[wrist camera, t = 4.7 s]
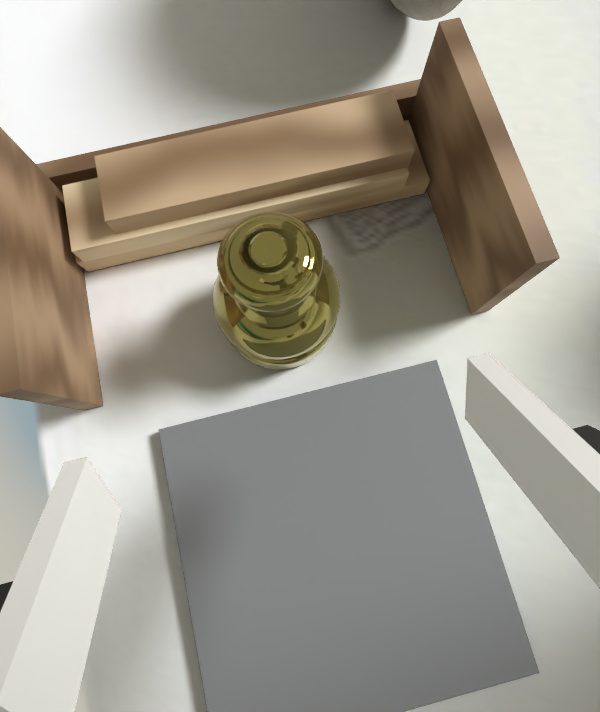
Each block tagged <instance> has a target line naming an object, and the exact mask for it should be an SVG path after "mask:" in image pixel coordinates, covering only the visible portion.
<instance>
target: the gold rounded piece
mask: <svg viewBox="0 0 600 712" xmlns="http://www.w3.org/2000/svg"><path fill="white" fill-rule="evenodd" d="M217 266H218V273H219V274H218V276H217V279H216V281H215V285H214V290H213V308H214V313H215V317H216V320H217V322H218V324H219V326H220V328H221V330H222V331H223V333H224V334H225V335H226V337H227V338H228V340H229V341H230V343H231V344H232V345H233V346H234V347H235V348H236V349H237V350H238V352H239V353H240V354H241V355H242V356H244V357H245V358H246V359H247V360H249V361H250V362H252V363H254V364H256V365H258V366H261V367H264V368H269V369H289V368H294V367H297V366H300V365H303V364H305V363H307V362H308V361H310V360H311V359H313V358H314V357H315V356H317V355H318V354H319V353H320V352H321V351H322V349H323V348H324V347H325V346H326V344H327V343H328V341H329V339H330V337H331V334H332V332H333V329H334V327H335V324H336V320H337V316H338V312H339V308H340V301H341V293H340V285H339V281H338V278H337V275H336V273H335V271H334V269H333V267H332V266H331V264H330V263H329V261H328V260H327V259H326V258H325V256H324V255H323V254H322V249H321V245H320V242H319V240H318V238H317V236H316V235H315V233H314V232H313V230H312V229H311V228H310V227H309V226H308V225H307V224H306V223H304V222H303V221H302V220H300V219H298V218H297V217H294V216H292V215H289V214H286V213H282V212H261V213H256V214H253V215H251V216H248V217H246V218H244V219H242V220H241V221H239V222H238V223H236V224H235V225H234V226H233V227H232V228H231V229H230V230H229V231H228V233H227V234H226V235H225V237H224V239H223V240H222V242H221V245H220V248H219V251H218V257H217Z"/></svg>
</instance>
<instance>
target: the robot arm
mask: <svg viewBox="0 0 600 712" xmlns="http://www.w3.org/2000/svg"><path fill="white" fill-rule="evenodd" d="M465 419H466V420H467V421H468V423H469V424H470V425H471V426H472V428H473V429H474V430H475V431H476V433H477V434H478V435H479V437H480V438H481V439H482V440H483V442H484V443H485V444H486V445H487V447H488V448H489V449H490V450H491V452H492V453H493V454H494V455H495V457H496V458H497V459H498V461H499V462H500V463H501V464H502V466H503V467H504V468H505V469H506V471H507V472H508V473H509V474H510V476H511V477H512V478H513V479H514V481H515V482H516V483H517V485H518V486H519V487H520V488H521V490H522V491H523V492H524V493H525V495H526V496H527V497H528V498H529V500H530V501H531V502H532V504H533V505H534V506H535V507H536V509H537V510H538V511H539V512H540V514H541V515H542V516H543V517H544V519H545V520H546V521H547V522H548V524H549V525H550V526H551V528H552V529H553V530H554V531H555V533H556V534H557V535H558V536H559V538H560V539H561V540H562V541H563V543H564V544H565V545H566V546H567V548H568V549H569V550H570V552H571V553H572V554H573V555H574V557H575V558H576V559H577V560H578V562H579V563H580V564H581V565H582V567H583V568H584V569H585V570H586V572H587V573H588V574H589V576H590V577H591V578H592V579H593V581H594V582H595V583H596V584H597V586H598V587H599V588H600V431H599V430H597V429H595V428H593V427H591V426H589V425H586V426H582V427H578V428H574V429H571V428H570V427H569V426H568V425H567V424H566V423H565V422H564V421H563V420H562V419H560V418H559V417H558V416H557V415H556V414H555V413H554V412H553V411H552V410H551V409H549V408H548V407H547V406H546V405H545V404H544V403H543V402H542V401H541V400H540V399H539V398H537V397H536V396H535V395H534V394H533V393H532V392H531V391H530V390H529V389H528V388H527V387H525V386H524V385H523V384H522V383H521V382H520V381H519V380H518V379H517V378H516V377H514V376H513V375H512V374H511V373H510V372H509V371H508V370H507V369H506V368H505V367H504V366H502V365H501V364H500V363H499V362H498V361H497V360H496V359H495V358H494V357H493V356H491V355H490V354H489V353H487V354H483V355H479V356H475V357H471V358H468V359H467V384H466V408H465ZM121 511H122V509H121V507H120V506H119V504H118V503H117V501H116V500H115V498H114V497H113V495H112V494H111V492H110V491H109V489H108V488H107V486H106V485H105V483H104V482H103V480H102V479H101V477H100V476H99V474H98V473H97V471H96V470H95V468H94V467H93V465H92V464H91V462H90V461H89V459H88V458H87V457H85V458H81V459H77V460H73V461H69V462H65V463H64V464H63V466H62V468H61V471H60V473H59V475H58V478H57V480H56V482H55V485H54V487H53V490H52V492H51V494H50V497H49V499H48V501H47V504H46V506H45V509H44V511H43V513H42V515H41V518H40V520H39V523H38V525H37V527H36V530H35V532H34V534H33V537H32V539H31V541H30V544H29V546H28V548H27V551H26V553H25V555H24V558H23V560H22V562H21V565H20V567H19V570H18V572H17V574H16V577H15V579H14V581H12V582H9V583H5V584H1V585H0V712H75V708H76V704H77V700H78V695H79V691H80V687H81V683H82V678H83V674H84V670H85V665H86V661H87V657H88V653H89V648H90V644H91V640H92V635H93V631H94V627H95V623H96V618H97V614H98V610H99V605H100V601H101V597H102V593H103V588H104V584H105V580H106V575H107V571H108V567H109V563H110V558H111V554H112V550H113V545H114V541H115V537H116V533H117V528H118V524H119V520H120V515H121Z"/></svg>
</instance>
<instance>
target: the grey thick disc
mask: <svg viewBox="0 0 600 712" xmlns="http://www.w3.org/2000/svg"><path fill="white" fill-rule="evenodd" d="M390 1H391V2H392V4H393V5H394V6H395V7H396V8H397V9H398V10H399V11H401V12H402V13H403V14H405V15H407V16H408V17H411V18H413V19H416V20H425V21H426V20H433V19H437V18H440V17H442V16H444V15H446V14H447V13H449V12H450V11H452V10H453V9H454V8H455V7H456V6H457V5H458V4H459V3H460V2H461V1H462V0H390Z"/></svg>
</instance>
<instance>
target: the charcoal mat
mask: <svg viewBox="0 0 600 712" xmlns="http://www.w3.org/2000/svg"><path fill="white" fill-rule="evenodd" d="M159 435H160V441H161V446H162V452H163V458H164V464H165V469H166V475H167V481H168V487H169V493H170V498H171V504H172V510H173V516H174V521H175V527H176V533H177V539H178V544H179V550H180V556H181V562H182V567H183V573H184V579H185V585H186V590H187V596H188V602H189V608H190V613H191V619H192V625H193V631H194V636H195V642H196V648H197V654H198V659H199V665H200V671H201V677H202V682H203V688H204V694H205V700H206V705H207V711H208V712H404V711H408V710H411V709H415V708H418V707H422V706H425V705H429V704H432V703H436V702H439V701H443V700H446V699H450V698H453V697H457V696H460V695H464V694H467V693H471V692H474V691H478V690H481V689H485V688H488V687H492V686H495V685H499V684H502V683H506V682H509V681H513V680H516V679H520V678H523V677H527V676H530V675H534V674H537V673H539V671H538V667H537V664H536V661H535V658H534V655H533V652H532V649H531V646H530V643H529V640H528V637H527V634H526V631H525V628H524V625H523V622H522V619H521V616H520V613H519V610H518V607H517V603H516V600H515V597H514V594H513V591H512V588H511V585H510V582H509V579H508V576H507V573H506V570H505V567H504V564H503V561H502V558H501V555H500V552H499V549H498V546H497V543H496V539H495V536H494V533H493V530H492V527H491V524H490V521H489V518H488V515H487V512H486V509H485V506H484V503H483V500H482V497H481V494H480V491H479V488H478V485H477V482H476V479H475V475H474V472H473V469H472V466H471V463H470V460H469V457H468V454H467V451H466V448H465V445H464V442H463V439H462V436H461V433H460V430H459V427H458V424H457V421H456V418H455V415H454V411H453V408H452V405H451V402H450V399H449V396H448V393H447V390H446V387H445V384H444V381H443V378H442V375H441V372H440V369H439V366H438V363H437V360H435V361H431V362H427V363H423V364H419V365H415V366H411V367H407V368H403V369H399V370H395V371H391V372H387V373H383V374H379V375H375V376H371V377H367V378H363V379H359V380H355V381H351V382H347V383H343V384H339V385H335V386H331V387H327V388H323V389H319V390H315V391H311V392H307V393H303V394H299V395H295V396H291V397H287V398H283V399H279V400H275V401H271V402H267V403H263V404H259V405H255V406H251V407H247V408H243V409H239V410H235V411H231V412H227V413H223V414H219V415H215V416H211V417H207V418H203V419H199V420H195V421H191V422H187V423H183V424H179V425H175V426H171V427H167V428H163V429H159Z"/></svg>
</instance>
